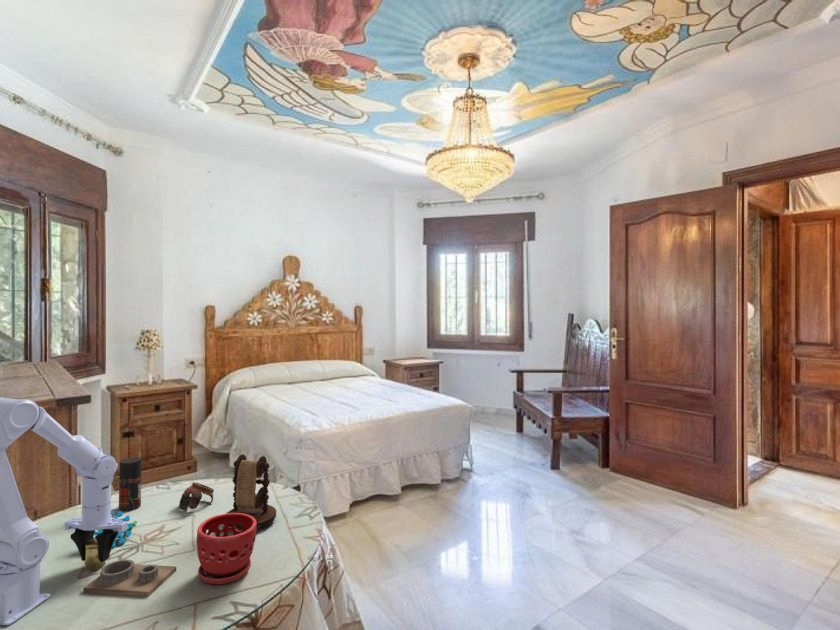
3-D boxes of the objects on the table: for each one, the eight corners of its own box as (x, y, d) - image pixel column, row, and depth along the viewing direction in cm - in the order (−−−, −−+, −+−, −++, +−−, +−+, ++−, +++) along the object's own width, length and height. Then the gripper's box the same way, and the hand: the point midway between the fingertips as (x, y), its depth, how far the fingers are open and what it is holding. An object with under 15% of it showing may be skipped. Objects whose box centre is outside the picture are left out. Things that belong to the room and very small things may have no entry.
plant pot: (190, 594, 99) (191, 540, 99) (201, 562, 112) (202, 514, 112) (253, 585, 103) (254, 533, 103) (257, 555, 115) (258, 509, 115)
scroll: (212, 531, 127) (213, 461, 128) (241, 509, 142) (243, 446, 142) (259, 537, 125) (261, 465, 125) (285, 514, 139) (286, 450, 139)
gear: (90, 550, 113) (89, 512, 119) (83, 560, 116) (83, 523, 121) (139, 540, 121) (136, 506, 127) (132, 551, 124) (130, 516, 129)
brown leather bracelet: (176, 505, 146) (190, 479, 149) (204, 514, 148) (217, 489, 152) (174, 509, 135) (189, 482, 139) (205, 520, 138) (218, 493, 141)
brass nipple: (96, 571, 107) (97, 546, 107) (80, 570, 107) (80, 545, 107) (110, 561, 111) (110, 537, 111) (93, 560, 111) (94, 536, 111)
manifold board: (148, 596, 98) (148, 582, 98) (83, 592, 99) (83, 578, 99) (176, 570, 108) (176, 558, 108) (116, 567, 109) (117, 554, 109)
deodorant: (120, 505, 144) (121, 458, 144) (142, 502, 146) (143, 456, 146) (116, 512, 138) (117, 464, 138) (139, 509, 141) (140, 461, 141)
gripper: (136, 498, 113) (135, 552, 113) (81, 495, 114) (80, 549, 114) (115, 510, 106) (114, 567, 106) (57, 507, 107) (56, 564, 107)
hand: (95, 559), depth 109 cm, fingers closed on brass nipple, 4 cm apart
